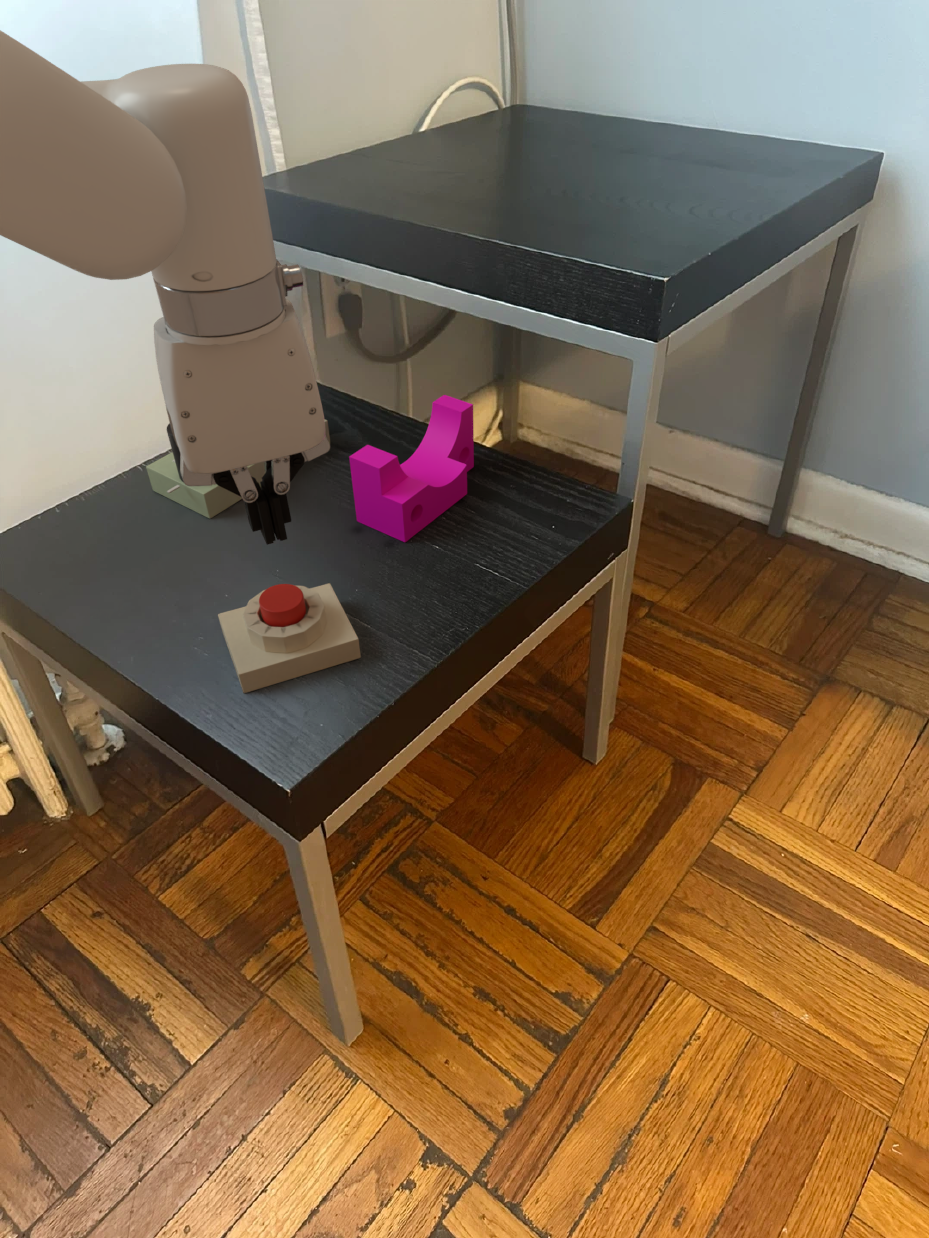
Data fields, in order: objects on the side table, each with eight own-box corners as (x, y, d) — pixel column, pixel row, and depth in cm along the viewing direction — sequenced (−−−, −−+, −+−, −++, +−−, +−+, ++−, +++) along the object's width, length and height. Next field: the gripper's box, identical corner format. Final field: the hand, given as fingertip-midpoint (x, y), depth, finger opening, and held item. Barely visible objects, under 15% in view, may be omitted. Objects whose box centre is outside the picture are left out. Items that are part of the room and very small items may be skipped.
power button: (268, 633, 71) (264, 616, 70) (257, 606, 74) (254, 590, 72) (311, 620, 72) (308, 604, 71) (299, 594, 75) (296, 578, 74)
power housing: (243, 693, 71) (234, 658, 68) (222, 632, 77) (213, 597, 74) (361, 657, 74) (356, 622, 71) (332, 601, 80) (327, 566, 77)
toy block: (405, 542, 86) (399, 477, 81) (356, 521, 89) (349, 456, 84) (492, 473, 95) (492, 411, 90) (446, 456, 98) (444, 394, 93)
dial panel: (203, 532, 88) (196, 505, 86) (138, 498, 92) (130, 473, 90) (338, 447, 100) (335, 422, 97) (274, 421, 104) (270, 397, 102)
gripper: (318, 257, 60) (349, 484, 72) (92, 298, 56) (166, 531, 68) (353, 297, 55) (380, 533, 67) (106, 345, 51) (183, 588, 63)
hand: (272, 532), depth 68 cm, fingers closed
